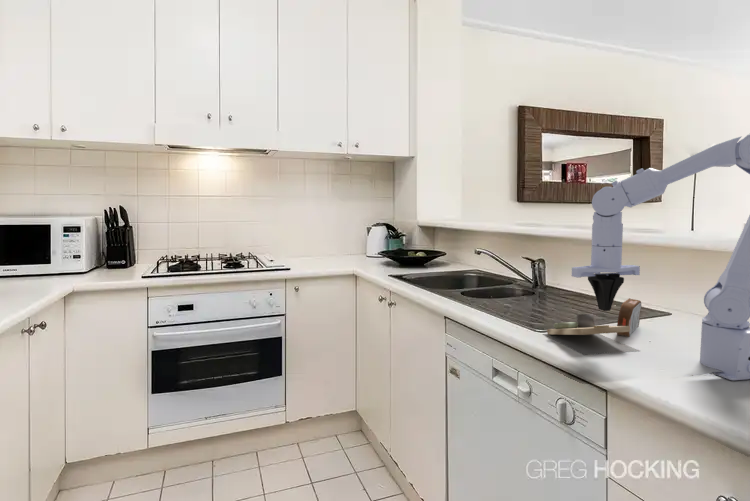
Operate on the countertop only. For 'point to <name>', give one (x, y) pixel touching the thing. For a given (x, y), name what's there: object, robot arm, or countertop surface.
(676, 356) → the countertop surface
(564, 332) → the plate
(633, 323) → the brown and grey slab
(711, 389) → the countertop surface
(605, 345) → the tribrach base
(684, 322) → the countertop surface
